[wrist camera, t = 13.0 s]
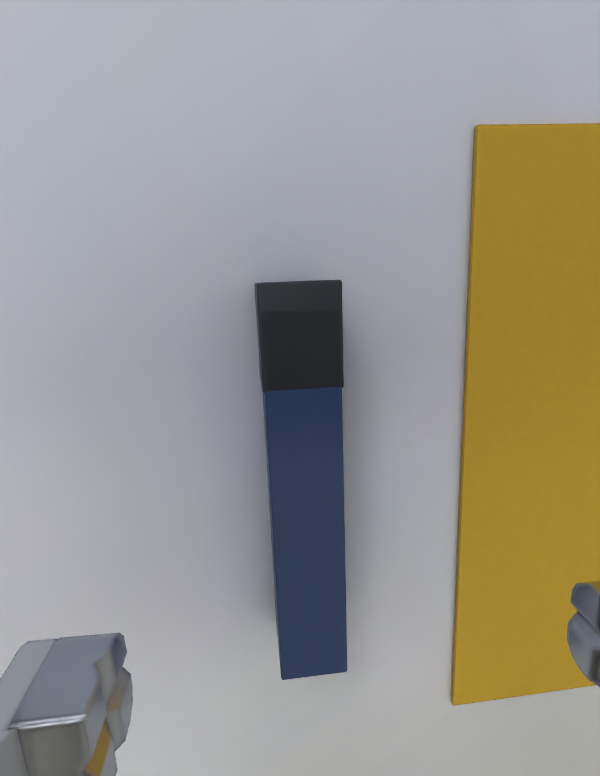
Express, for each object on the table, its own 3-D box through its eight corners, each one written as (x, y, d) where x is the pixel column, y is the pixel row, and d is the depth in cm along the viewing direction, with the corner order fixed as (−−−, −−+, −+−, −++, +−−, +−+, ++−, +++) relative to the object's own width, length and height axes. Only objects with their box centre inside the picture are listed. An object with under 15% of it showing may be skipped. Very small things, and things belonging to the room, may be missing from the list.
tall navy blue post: (334, 633, 18) (349, 691, 15) (276, 641, 18) (280, 701, 15) (326, 279, 15) (341, 279, 12) (254, 282, 14) (256, 283, 12)
